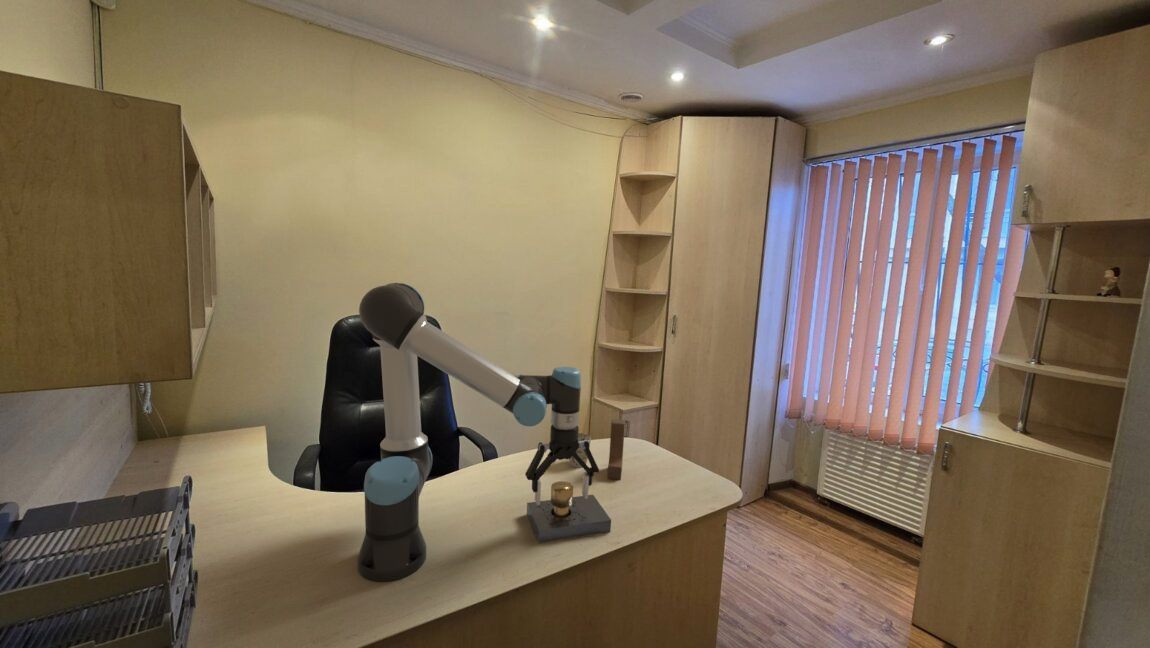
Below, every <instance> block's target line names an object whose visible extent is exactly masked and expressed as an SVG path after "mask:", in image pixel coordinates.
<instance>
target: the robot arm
mask: <svg viewBox="0 0 1150 648" xmlns="http://www.w3.org/2000/svg"><path fill="white" fill-rule="evenodd" d="M358 309H359V310H358V313H359V318H360V321H361V323H362V325H363V326H364V328H365V329H366V330H367V331H368V332H369V333H371V334H372V340H373V341H374V342H375V343H376V344H378V345H379V346H380V347H379V349H380V362H381V363H380V365H381V376H382V377H381V378H382V394H383V396H382V397H383V408H384V409H383V410H384V411H383V412H384V423H385V424H384V425H385V427H384V428H385V436H384V438H383V440H381V442H380V444H379V446H380V447H379V448H380V461H376V462H374V463H373V464H372V465H370V467H369V468H368V469H367V471H366V472H365V476H364V482H363V493H364V516H365V517H364V522H365V524H364V525H365V534H364V537H363V541H362V543H361V546H360V549H359V552H358V555H357V572H358V573H359V574H360V576H361V577H362V578H365V579H367V580H370V581H372V582H391V581H396V580H399V579H403V578H405V577H407V576H410V575H412V574H413V573H415V572H416V571H418V570H419V569H420V568H422V566H423V565H424V563H425V561H426V559H427V543H426V542H425V539H424V538H425V537H424V535H423V533H422V531H421V528H420V525H419V522H420V521H419V515H420V514H419V508H420V506H419V502H420V495H421V493H422V490H423V488H424V485H425V483H426V481H427V478H428V476H429V475H430V473H431V471H432V466H433V454H432V453H433V452H432V451H431V448H430V447H429V439H428V436H427V435H426V434H424V432H422V422H421V421H422V420H421V403H420V402H421V401H420V399H421V398H420V383H419V382H420V381H419V365H418V363H419V361H418V357H419V358H421V360H423V361H425V362H427V363H429V364H430V365H432V366H433V367H435V368H437V369H438V370H440V371H442V372H443V373H445V374H447V375H448V376H450V377H452V378H454V379H455V380H457V381H459V382H460V383H462V384H463V385H465V386H466V387H468V388H470V389H472V390H473V391H475V392H477V393H479V394H480V395H482V396H483V397H484V398H487V399H488V400H490V401H491V402H493V403H495V404H496V405H498V406H500V408H501V407H502V408H503V409H505V410H506V411H508V412H509V413H510V414H511V413H512V415H513V417H514V419H515V420H516V422H518V424H519V425H522V426H525V427H534V426H536V425H539V424H540V423H541V422H542V421H543V420H544V418H545V417H546V414H547V407H548V406H547V405H551V412H550V424H551V425H550V432H549V434H550V436H549V437H550V438H549V439H550V441H549V443H548V444H547V443H543V442H541V441H540V442H539V443H538V445H537V449H536V450H537V451H536V452H535V455H534V456H533V457H532V459H531V462H530V464H529V466H528V468H527V470H526V472H525V478H526V479H527V481H531V490H532V492H533V493H535V494H534V502H536V503H537V505H540V501H541V489H542V487H541V485H542V481H541V480H540V479H541V478H542V476H543V475H544V474H545V473H546V472H547V470H548V469H549V468H550V467H551V465H552V464H553V463H555V462H556V461H557V460H559V461H562V460H569V459H570V458H571V457H572V456H573V457H574V458H575V459H576V461H577V462H578V463H579V464H580V465H581V466H582V467H581V468H582V469H583V470H584V472H582V488H581V489H582V491H581V496H584V498H585V499H588V495H589V487H590V486H592V484H593V483H592V481H593V477H594V476H595V473H596V474H597V473H599V472H600V469H599V467H598V465H597V462H596V461H595V458H594V456H593V453H592V452H591V450H590V448H591V447H590V448H589V442H588V441H587V440H586V439H583V440H582V441H579V442H578V433H580V431H579V430H580V429H579V425H580V423H579V422H580V405H581V389H582V386H581V385H582V383H581V381H582V380H581V377H582V376H581V371H580V370H579V369H578V368H575V367H572V366H560V367H558V366H557V367H554V368H553V369H552V374H551V375H550V374H549V375H534V374H533V375H529V374H527V375H526V374H525V375H524V374H518V375H517V374H516V375H514V374H512V373H511V372H508V371H507V370H505V369H504V368H502V367H501V366H499V365H497V364H496V363H494V362H493V361H491V360H489V359H488V358H486V357H485V356H483V355H482V354H480V353H478V352H477V351H475V350H473V349H471V347H469V346H467V345H465V344H464V343H462V342H461V341H459V340H458V339H455V338H454V337H453V336H451V335H450V334H448V333H446V332H445V331H443V330H442V329H440V328H438V327H436V326H435V325H433V324H431V323H430V322H428V320H427V317H426V314H424V313H425V301H424V299H423V296H422V294H421V293H420V291H418V290H417V289H416V288H415V287H414V286H412V285H410V284H407V283H403V282H402V283H401V282H400V283H399V282H392V283H390V282H389V283H387V284H385V285H380V286H377V287H374V288H371V289H370V290H369V291H368V292H366V293H365V294H364V296H363V297H362V299H361V301H360V304H359V308H358ZM579 446H581V448H582V449H584V452H585V454H586V456H587V458H588V459H587V461H588V463H589V464H590V466H591V467H589V466H588V465H587V464H585V463H584V461H583V460H582V459H581V458H580V457H579V456H578V454H577V453H576V451H577V449H578V448H579ZM547 450H549V452H548V454H547V456H546V457H545V459H543V457H544V455H545V453H546V452H547ZM542 459H543V461H542ZM540 463H541V464H540Z"/></svg>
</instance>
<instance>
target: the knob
mask: <svg viewBox="0 0 1150 648" xmlns="http://www.w3.org/2000/svg"><path fill="white" fill-rule="evenodd" d="M550 486H551V487H550V500H551V504H552V505H553V506H554V516H555V517H559V518H564V517H568V510H569V506H571V505H572V502H573V497H574V485H573V484H572V483H570V482H568V481H563V480H562V481H555V482H553V483H552V484H551V485H550Z"/></svg>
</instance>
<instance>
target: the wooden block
mask: <svg viewBox="0 0 1150 648" xmlns="http://www.w3.org/2000/svg"><path fill="white" fill-rule="evenodd" d="M625 426H626V421H625V419H618V418H612V420H611V424H610V439H609V458H608V465H607V466H608V467H607V479H610V480H611V479H612V480H622V472H623V458H624V443H625V442H624V441H625V429H626V428H625Z"/></svg>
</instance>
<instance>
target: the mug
mask: <svg viewBox="0 0 1150 648" xmlns="http://www.w3.org/2000/svg"><path fill="white" fill-rule="evenodd" d="M583 439H586V440H587V441H588V442H589V448H591V441H592V437H591V435H589V434H587V433H583V432H578V442H579V441H582V440H583ZM576 453H577V454H578V456H579V457H580V458H581V459H582V460H583V461H584V463H585V464H586V465H587V463H588V458H587V456H586V454H585V452H584V449H582V448H581V446H579V448H578V449H577V451H576ZM568 461H569V465H570V466H572V467H574V468H583V467H582V466H581V465H580V464H579V463H578V462H577V461H576V459H575V458H574V457H573V456H572V457H571V458H570V459H568Z"/></svg>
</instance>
